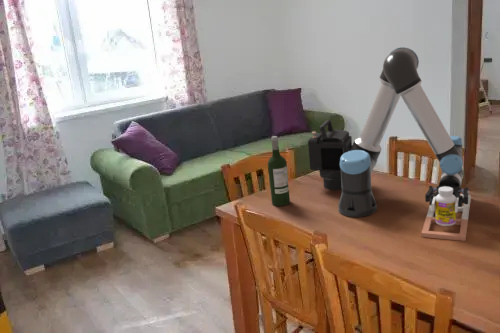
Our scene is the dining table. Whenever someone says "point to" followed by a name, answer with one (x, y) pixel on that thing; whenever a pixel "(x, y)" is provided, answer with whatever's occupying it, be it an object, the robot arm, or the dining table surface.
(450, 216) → the supplement bottle
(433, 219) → the rack
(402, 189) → the dining table surface
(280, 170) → the wine bottle
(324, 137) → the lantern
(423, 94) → the robot arm
